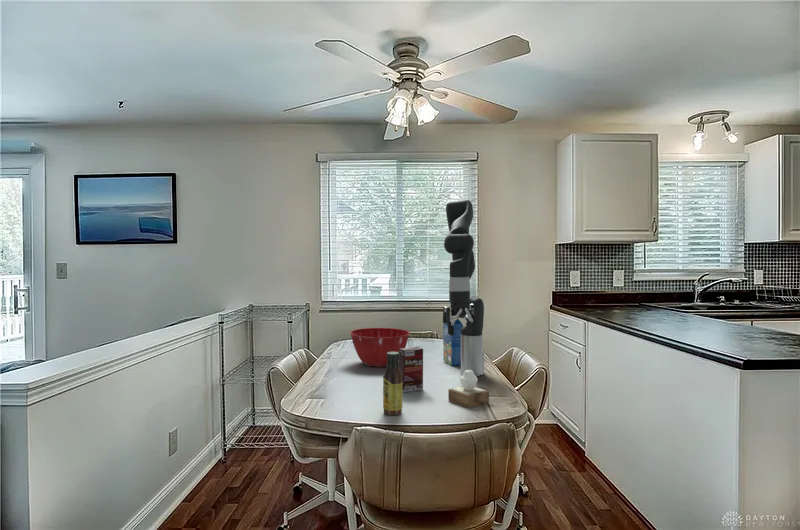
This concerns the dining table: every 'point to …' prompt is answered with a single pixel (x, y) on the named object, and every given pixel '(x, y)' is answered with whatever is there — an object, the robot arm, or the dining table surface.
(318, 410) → the dining table surface
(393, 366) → the sauce bottle
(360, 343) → the mixing bowl
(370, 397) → the dining table surface
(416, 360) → the supplement box
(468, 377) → the white fluted ornament
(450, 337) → the blue food package
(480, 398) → the base
